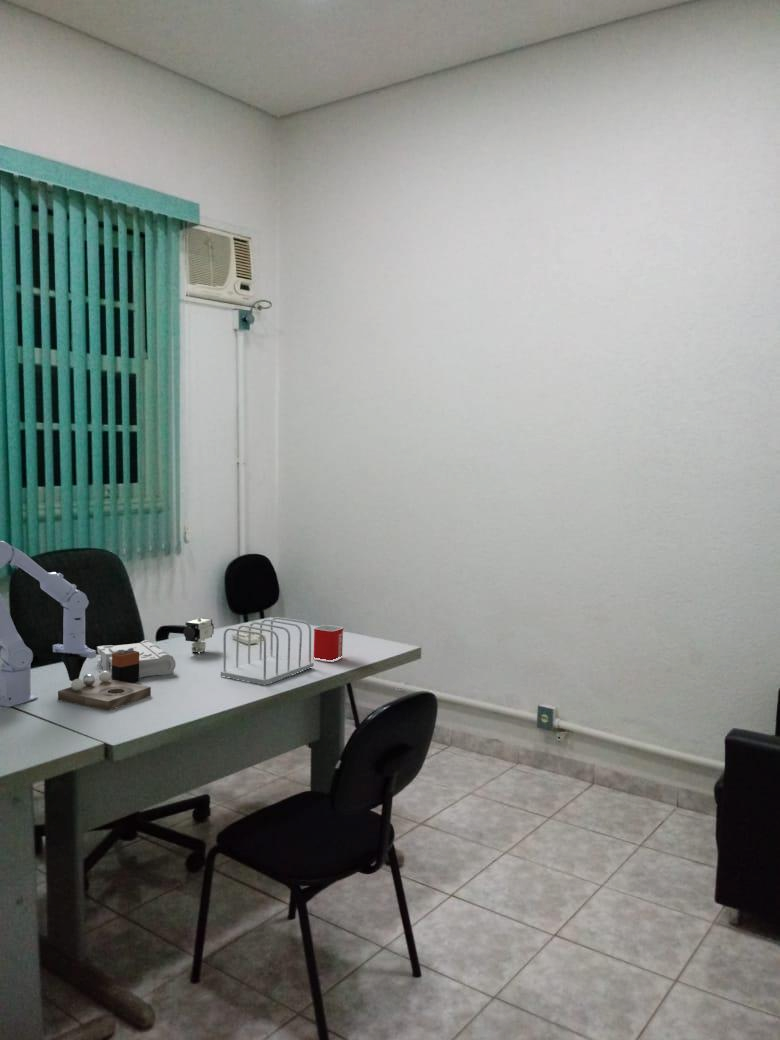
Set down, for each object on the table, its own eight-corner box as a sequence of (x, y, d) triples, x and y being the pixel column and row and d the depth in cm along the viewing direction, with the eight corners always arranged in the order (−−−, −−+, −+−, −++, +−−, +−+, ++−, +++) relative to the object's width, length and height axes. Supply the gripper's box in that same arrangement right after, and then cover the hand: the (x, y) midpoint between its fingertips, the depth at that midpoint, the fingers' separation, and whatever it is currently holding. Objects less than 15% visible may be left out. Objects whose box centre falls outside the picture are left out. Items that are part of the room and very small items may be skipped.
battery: (110, 684, 241) (111, 650, 240) (130, 679, 247) (130, 646, 246) (120, 686, 238) (120, 652, 238) (139, 682, 244) (140, 648, 243)
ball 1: (77, 692, 223) (77, 681, 222) (68, 691, 224) (68, 679, 224) (86, 690, 226) (86, 678, 225) (77, 688, 227) (77, 676, 227)
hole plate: (107, 710, 216) (107, 701, 216) (57, 700, 224) (58, 690, 224) (150, 695, 231) (150, 687, 230) (102, 686, 238) (102, 677, 238)
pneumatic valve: (182, 655, 277) (183, 619, 276) (202, 648, 288) (202, 614, 287) (196, 657, 275) (197, 621, 275) (216, 649, 286) (216, 615, 286)
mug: (332, 663, 273) (332, 631, 272) (310, 660, 277) (311, 628, 276) (350, 656, 284) (351, 625, 283) (329, 653, 287) (330, 622, 286)
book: (150, 655, 277) (150, 632, 277) (176, 675, 254) (176, 650, 253) (90, 662, 267) (90, 639, 266) (112, 684, 243) (111, 658, 243)
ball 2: (105, 684, 232) (105, 673, 231) (96, 682, 233) (96, 671, 233) (113, 681, 235) (113, 670, 234) (105, 679, 236) (105, 668, 236)
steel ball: (88, 687, 228) (88, 676, 227) (80, 686, 229) (80, 674, 229) (97, 685, 231) (97, 673, 230) (89, 683, 232) (89, 672, 232)
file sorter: (271, 661, 274) (272, 614, 273) (314, 669, 266) (315, 621, 264) (219, 677, 253) (220, 626, 251) (265, 686, 244) (266, 634, 243)
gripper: (104, 632, 232) (104, 680, 233) (66, 626, 238) (66, 673, 239) (85, 637, 225) (84, 686, 226) (46, 631, 232) (46, 678, 233)
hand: (74, 680), depth 232 cm, fingers closed
